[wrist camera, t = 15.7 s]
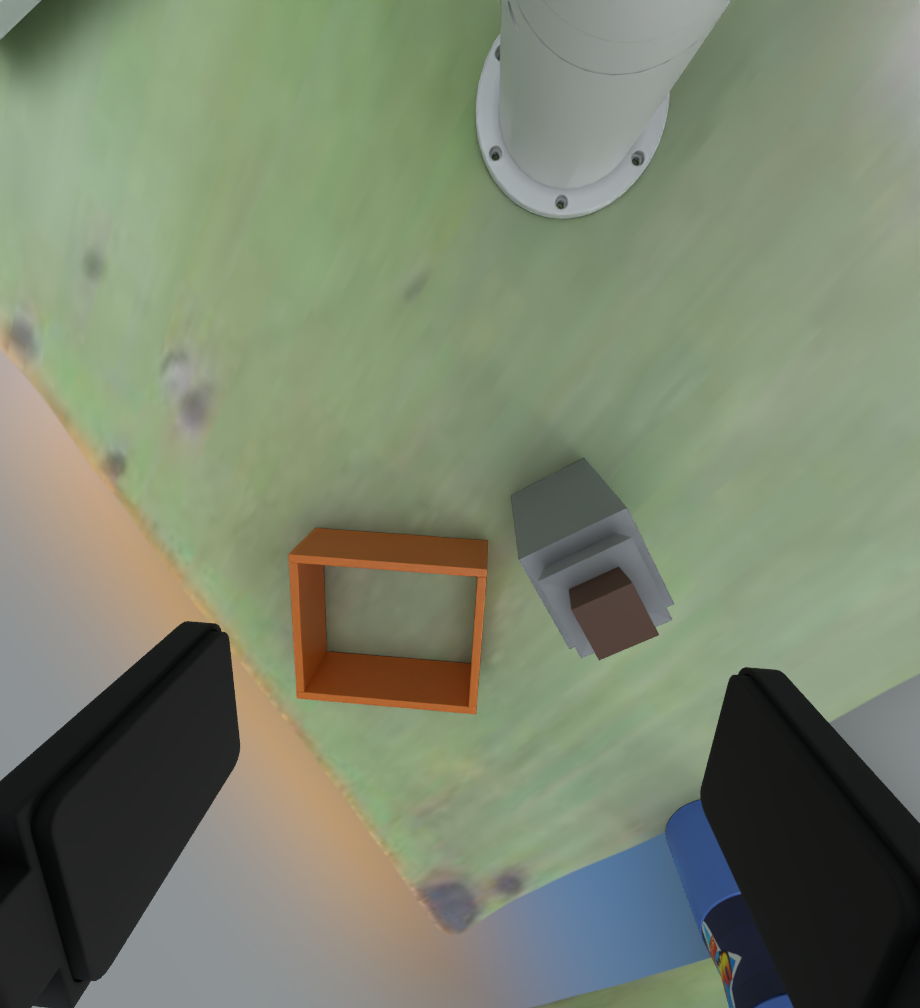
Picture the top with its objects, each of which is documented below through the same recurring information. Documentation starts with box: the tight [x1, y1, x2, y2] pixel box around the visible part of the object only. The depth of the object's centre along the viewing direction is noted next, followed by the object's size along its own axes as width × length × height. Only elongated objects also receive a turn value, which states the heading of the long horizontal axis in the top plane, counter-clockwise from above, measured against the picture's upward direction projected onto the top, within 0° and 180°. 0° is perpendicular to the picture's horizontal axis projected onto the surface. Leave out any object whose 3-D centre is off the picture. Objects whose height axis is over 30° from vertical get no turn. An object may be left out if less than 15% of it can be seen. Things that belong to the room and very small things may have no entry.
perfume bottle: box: [511, 458, 674, 660], centre depth 33 cm, size 7×7×18 cm
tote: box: [289, 528, 488, 714], centre depth 42 cm, size 13×15×6 cm
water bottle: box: [666, 800, 793, 1008], centre depth 39 cm, size 9×9×25 cm
